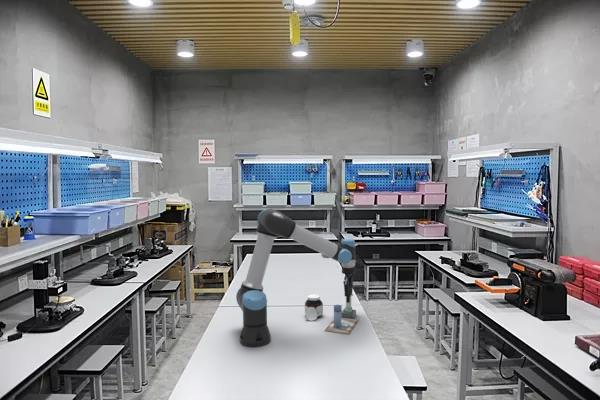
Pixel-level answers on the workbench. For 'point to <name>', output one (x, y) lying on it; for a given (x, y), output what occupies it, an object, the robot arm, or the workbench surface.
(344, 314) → the button housing
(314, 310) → the spread jar
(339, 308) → the blue cylinder
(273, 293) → the workbench surface
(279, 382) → the workbench surface
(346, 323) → the picture frame
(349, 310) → the button
